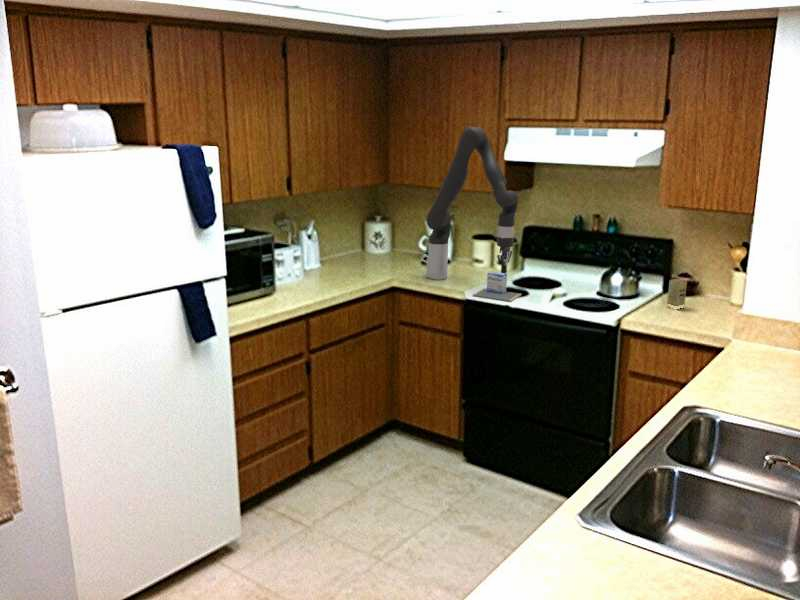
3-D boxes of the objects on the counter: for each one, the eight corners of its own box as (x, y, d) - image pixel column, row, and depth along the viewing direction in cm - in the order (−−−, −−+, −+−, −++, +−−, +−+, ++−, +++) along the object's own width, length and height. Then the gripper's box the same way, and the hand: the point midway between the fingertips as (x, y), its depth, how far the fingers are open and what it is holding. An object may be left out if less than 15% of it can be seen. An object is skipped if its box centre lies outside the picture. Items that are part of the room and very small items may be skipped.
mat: (472, 296, 334) (472, 294, 334) (484, 289, 345) (484, 288, 345) (510, 302, 325) (510, 300, 325) (521, 295, 336) (521, 293, 336)
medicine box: (486, 291, 339) (487, 272, 337) (489, 289, 343) (490, 270, 341) (502, 293, 336) (503, 275, 333) (506, 291, 339) (507, 272, 337)
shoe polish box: (666, 307, 320) (669, 279, 317) (674, 305, 323) (677, 278, 320) (676, 310, 317) (679, 282, 313) (683, 308, 319) (687, 280, 316)
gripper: (503, 232, 346) (501, 269, 351) (492, 237, 335) (490, 275, 340) (518, 234, 343) (516, 271, 348) (508, 238, 332) (506, 277, 337)
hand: (503, 273), depth 344 cm, fingers closed
